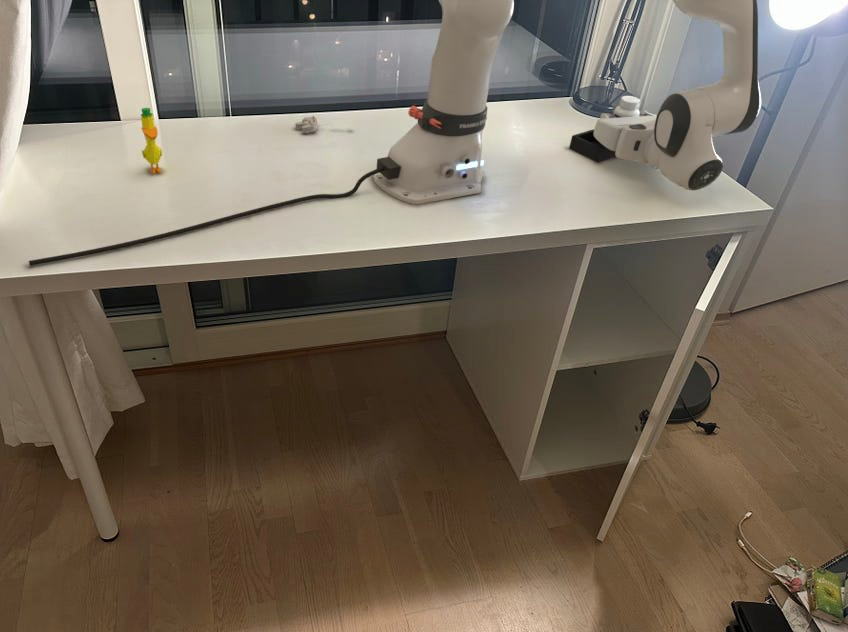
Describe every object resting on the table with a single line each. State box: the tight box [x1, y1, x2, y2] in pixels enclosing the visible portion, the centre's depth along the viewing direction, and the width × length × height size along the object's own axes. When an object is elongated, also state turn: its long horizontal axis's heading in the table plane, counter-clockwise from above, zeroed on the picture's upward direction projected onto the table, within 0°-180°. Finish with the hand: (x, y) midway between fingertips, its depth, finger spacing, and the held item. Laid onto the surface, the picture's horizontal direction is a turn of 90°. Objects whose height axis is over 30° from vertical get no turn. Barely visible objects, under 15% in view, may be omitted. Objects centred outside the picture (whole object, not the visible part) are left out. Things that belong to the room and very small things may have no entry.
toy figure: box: [140, 107, 163, 175], centre depth 131 cm, size 7×4×12 cm, turn 24°
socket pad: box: [568, 128, 617, 164], centre depth 155 cm, size 8×15×3 cm, turn 126°
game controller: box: [294, 115, 350, 134], centre depth 154 cm, size 6×12×3 cm, turn 109°
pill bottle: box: [611, 95, 641, 118], centre depth 154 cm, size 5×5×10 cm
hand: (622, 115), depth 154 cm, fingers open, 8 cm apart
